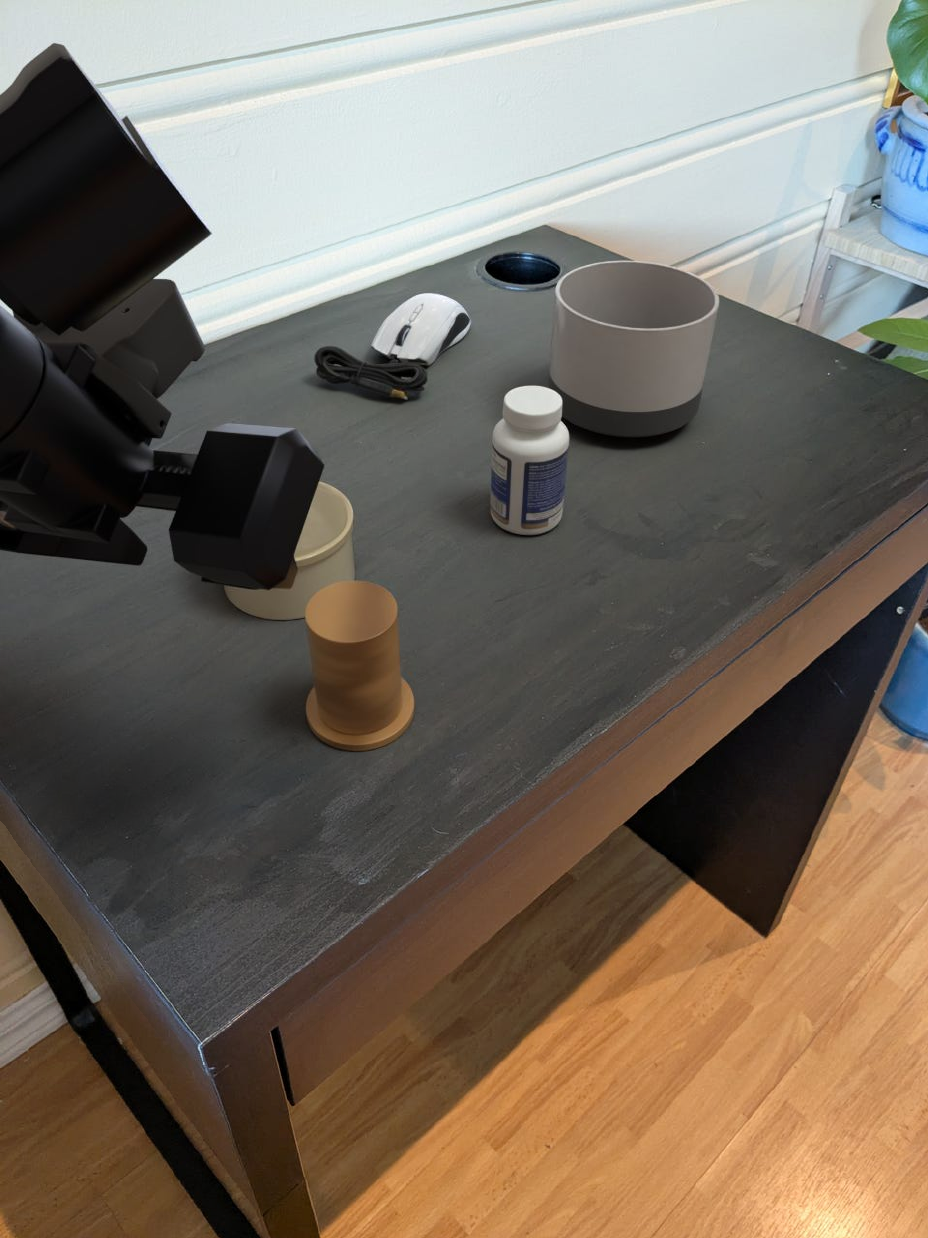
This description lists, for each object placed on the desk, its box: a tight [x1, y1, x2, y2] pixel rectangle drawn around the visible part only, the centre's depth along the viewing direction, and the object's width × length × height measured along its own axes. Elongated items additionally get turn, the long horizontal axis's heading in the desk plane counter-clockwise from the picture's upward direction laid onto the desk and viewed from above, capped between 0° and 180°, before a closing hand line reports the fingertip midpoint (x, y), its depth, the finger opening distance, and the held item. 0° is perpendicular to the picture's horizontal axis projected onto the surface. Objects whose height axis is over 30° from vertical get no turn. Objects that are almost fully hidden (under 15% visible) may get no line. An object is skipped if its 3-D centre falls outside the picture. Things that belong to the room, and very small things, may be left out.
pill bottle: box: [490, 385, 570, 536], centre depth 68 cm, size 5×5×10 cm
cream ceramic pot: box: [222, 480, 356, 621], centre depth 64 cm, size 9×9×5 cm
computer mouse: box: [313, 292, 472, 401], centre depth 89 cm, size 10×18×4 cm, turn 156°
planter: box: [547, 260, 720, 438], centre depth 79 cm, size 13×13×10 cm
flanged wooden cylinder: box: [304, 580, 415, 752], centre depth 54 cm, size 6×6×8 cm
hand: (214, 567), depth 48 cm, fingers open, 9 cm apart
